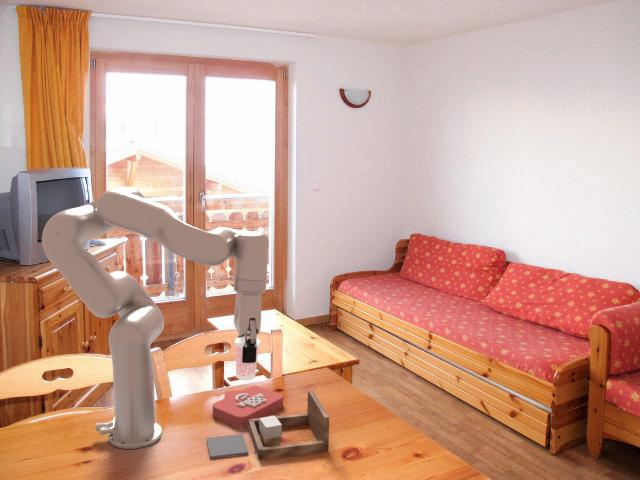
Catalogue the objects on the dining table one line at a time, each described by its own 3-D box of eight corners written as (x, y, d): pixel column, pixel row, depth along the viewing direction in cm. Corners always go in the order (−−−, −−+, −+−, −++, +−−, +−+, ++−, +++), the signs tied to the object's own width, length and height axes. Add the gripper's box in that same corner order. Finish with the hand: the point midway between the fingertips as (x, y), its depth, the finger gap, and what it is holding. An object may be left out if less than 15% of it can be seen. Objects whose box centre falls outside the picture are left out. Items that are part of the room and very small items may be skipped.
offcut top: (266, 439, 147) (266, 427, 146) (259, 429, 151) (259, 418, 151) (281, 436, 148) (281, 424, 148) (274, 426, 153) (274, 415, 152)
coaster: (210, 458, 142) (210, 456, 142) (206, 440, 151) (206, 437, 151) (248, 454, 145) (248, 452, 145) (242, 436, 153) (242, 433, 153)
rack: (258, 459, 142) (259, 424, 141) (248, 427, 158) (248, 395, 156) (328, 451, 147) (329, 416, 145) (311, 421, 162) (312, 389, 161)
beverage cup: (244, 369, 151) (247, 315, 148) (263, 376, 147) (266, 321, 145) (227, 376, 146) (230, 320, 143) (246, 383, 142) (249, 326, 140)
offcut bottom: (264, 450, 147) (264, 439, 146) (260, 438, 153) (260, 427, 152) (280, 449, 148) (280, 437, 147) (276, 437, 154) (276, 426, 153)
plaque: (247, 380, 179) (286, 394, 171) (247, 392, 180) (286, 406, 171) (202, 400, 165) (242, 416, 157) (202, 413, 166) (241, 430, 157)
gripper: (228, 275, 149) (225, 344, 152) (240, 294, 133) (236, 372, 136) (258, 275, 151) (255, 343, 155) (273, 294, 135) (269, 370, 138)
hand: (246, 356), depth 145 cm, fingers closed on beverage cup, 6 cm apart
